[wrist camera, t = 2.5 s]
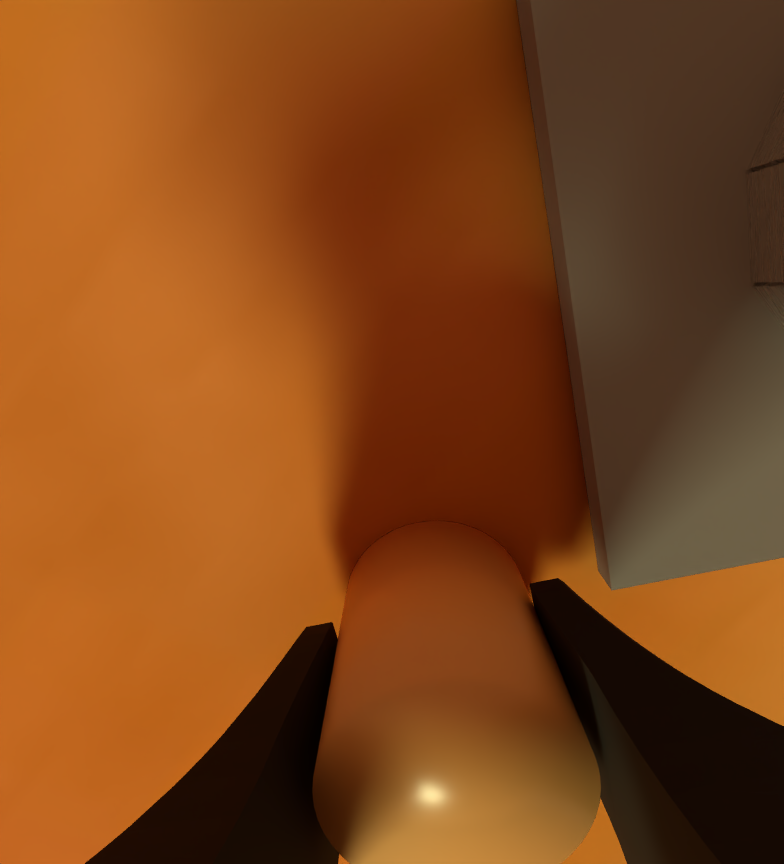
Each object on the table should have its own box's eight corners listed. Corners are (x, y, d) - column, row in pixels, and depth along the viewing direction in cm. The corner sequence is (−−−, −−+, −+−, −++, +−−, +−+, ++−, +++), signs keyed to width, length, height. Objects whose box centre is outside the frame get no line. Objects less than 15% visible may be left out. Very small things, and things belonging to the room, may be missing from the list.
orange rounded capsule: (537, 658, 13) (617, 876, 8) (370, 688, 13) (353, 914, 9) (508, 503, 12) (580, 653, 7) (325, 541, 12) (276, 708, 7)
